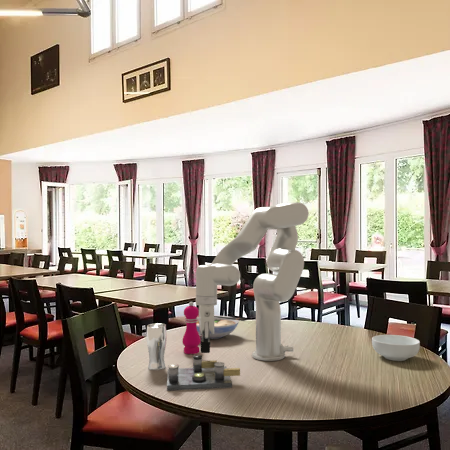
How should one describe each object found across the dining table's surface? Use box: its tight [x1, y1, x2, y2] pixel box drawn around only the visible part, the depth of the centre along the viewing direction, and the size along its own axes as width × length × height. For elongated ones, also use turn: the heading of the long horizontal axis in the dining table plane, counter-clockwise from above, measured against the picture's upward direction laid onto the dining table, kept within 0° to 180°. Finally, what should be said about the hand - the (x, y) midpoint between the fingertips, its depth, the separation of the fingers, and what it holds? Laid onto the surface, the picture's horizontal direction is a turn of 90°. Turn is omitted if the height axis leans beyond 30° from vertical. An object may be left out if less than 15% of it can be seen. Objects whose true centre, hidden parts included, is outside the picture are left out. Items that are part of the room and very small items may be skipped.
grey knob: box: [214, 361, 241, 380], centre depth 144 cm, size 8×3×5 cm, turn 96°
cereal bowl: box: [371, 334, 421, 362], centre depth 170 cm, size 17×17×7 cm
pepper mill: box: [182, 301, 202, 355], centre depth 179 cm, size 7×7×20 cm
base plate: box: [166, 365, 233, 392], centre depth 147 cm, size 20×16×3 cm
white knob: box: [167, 363, 180, 382], centre depth 144 cm, size 8×3×5 cm, turn 6°
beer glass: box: [146, 322, 167, 371], centre depth 160 cm, size 7×7×15 cm
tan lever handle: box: [192, 354, 218, 371], centre depth 152 cm, size 8×3×5 cm, turn 96°
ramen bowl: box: [196, 315, 248, 340], centre depth 203 cm, size 25×23×8 cm
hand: (205, 352), depth 159 cm, fingers closed
